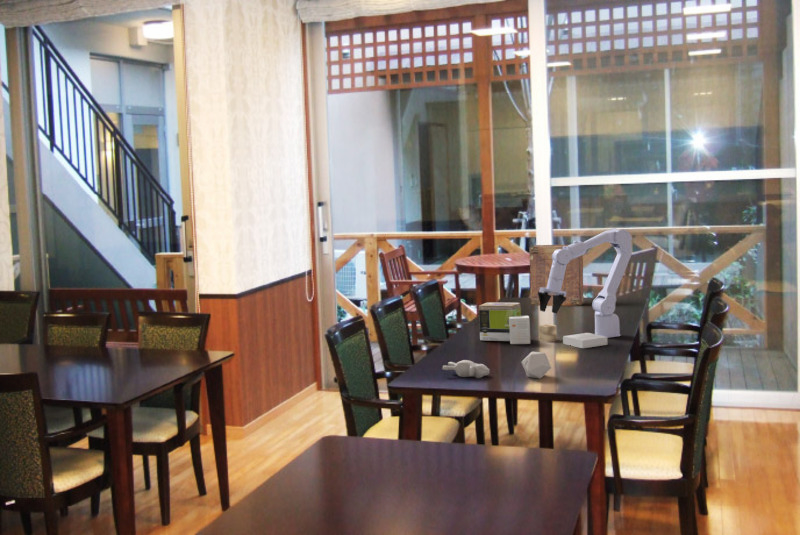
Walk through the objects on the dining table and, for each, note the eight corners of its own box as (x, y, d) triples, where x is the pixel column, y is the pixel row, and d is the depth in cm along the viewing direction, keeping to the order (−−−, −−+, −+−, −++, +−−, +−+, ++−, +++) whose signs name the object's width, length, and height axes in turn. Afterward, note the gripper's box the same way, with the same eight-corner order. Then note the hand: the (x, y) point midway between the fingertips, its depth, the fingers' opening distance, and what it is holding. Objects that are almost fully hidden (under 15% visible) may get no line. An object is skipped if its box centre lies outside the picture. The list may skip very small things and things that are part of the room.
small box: (529, 341, 355) (529, 315, 354) (530, 343, 349) (529, 317, 348) (509, 341, 356) (509, 315, 355) (510, 344, 350) (509, 318, 349)
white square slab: (587, 340, 352) (587, 332, 352) (607, 344, 342) (607, 336, 341) (563, 343, 347) (563, 336, 347) (582, 348, 336) (582, 340, 336)
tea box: (522, 337, 363) (521, 302, 361) (514, 342, 354) (513, 305, 352) (487, 336, 369) (486, 301, 368) (479, 340, 360) (478, 304, 359)
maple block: (549, 338, 359) (548, 324, 359) (556, 340, 355) (556, 325, 354) (539, 340, 357) (538, 325, 357) (546, 341, 353) (546, 327, 352)
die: (525, 375, 299) (513, 355, 294) (547, 361, 299) (536, 340, 294) (535, 389, 292) (524, 368, 287) (558, 374, 292) (547, 354, 287)
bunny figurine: (483, 368, 291) (441, 361, 297) (482, 383, 292) (440, 375, 298) (492, 362, 300) (451, 355, 306) (491, 377, 300) (449, 369, 306)
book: (530, 305, 451) (528, 246, 448) (534, 302, 460) (533, 245, 457) (580, 306, 442) (579, 246, 439) (583, 303, 450) (582, 244, 447)
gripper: (559, 279, 361) (552, 311, 361) (536, 274, 351) (529, 308, 352) (573, 282, 355) (565, 315, 356) (550, 278, 346) (542, 311, 347)
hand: (548, 312), depth 354 cm, fingers open, 7 cm apart
